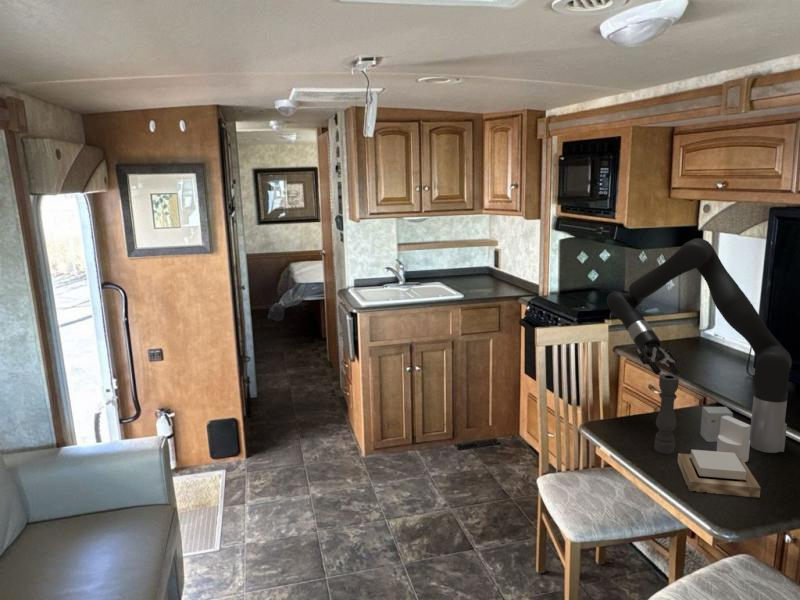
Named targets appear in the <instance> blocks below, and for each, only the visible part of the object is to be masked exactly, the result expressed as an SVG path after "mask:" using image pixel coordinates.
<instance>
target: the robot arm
mask: <svg viewBox="0 0 800 600" xmlns="http://www.w3.org/2000/svg"><path fill="white" fill-rule="evenodd" d="M695 269H696V270H697V272H699V274H700V275H701V276H702V277H703V279H704V281H705V282H706V285H707V287H708V291H709V293H710V296H711V298H712V301H713V303H714V306H715V307H716V308H717V310H718V312H719V314H721V316H722V317H723V319H724V320H725V321H726V322H727V324H728V325H729V326H730V327H731V328H732V329H733V330H734V331H736V332H737V333H738V334H739V335H741V337H742V338H743V339H745V340H746V342H747V343H748V344H749V346H750V347H751V349H752V350H753V352H754V354H755V356H756V362H755V364H754V365H755V366H754V367H755V368H754V379H753V397H752V399H753V400H752V410H751V420H750V425H751V428H750V438H749V440H750V447H751V448H752V449H753V450H756V451H758V452H759V451H760V452H763V453H768V454H770V453H771V454H776V453H784V452H785V445H786V444H785V443H786V437H787V436H786V435H787V428H788V427H787V426H788V424H787V423H786V422H785V421H786V414H787V403H788V396H789V390H788V389H789V388H788V387H789V378H790V371H791V368H792V365H793V359H792V356H791V354H790V353H789V351H788V350H787V349H786V348H785V347H784V346H783V345H782V343H781V342H779V340H778V339H777V338H776V337H775V336H774V335H773V334H772V332H771V331H770V330H769V329H768V327H767V325H766V324H765V322H764V319H763V318H762V317H761V316H760V314H759V313H758V311H757V310H756V308H755V307H754V304H753V303H752V302H751V301H750V299H749V298H748V297H747V295H746V294H745V293H744V292H743V290H742V289H741V287H739V286H740V285H738V283H737V282H736V281H735V279H734V278H733V276H731V274H730V273H729V272H728V271H727V269H726V267H725V266H724V264H723V262H722V261H721V259H720V257H719V256H718V253H717V252H716V250H715V248H714V246H713V245H712V244H711V243H710V242H709V241H708V240H706V239H705V238H704V239H703V238H693V239H691V240H689V241H687V242H685V243H684V244H683V245H681V246H680V248H679V249H678V250H676V252H675V253H673V255H671V257H669V258H668V259H666V261H664V262H663V263H661V264H660V265H658V266H656V267H655V268H654V269H652V270H650V271H649V272H647V273H645V274H643V275H642V276H641V277H639V278H637V279H635V281H633V282H632V283H630V285H629V286H628V290H629V291H628V292H627V293H625V292H622V291H618V290H614V291H612V292H610V293H609V294H608V295H607V297H606V304H607V307H608V309H609V310H610V311H611V312H612V314H613V315H614V316H616V318H617V319H618V320H619V321H620V322H621V323H622V324H623V326H624V328H625V329H626V330H627V332H628V335H629V337H630V338H631V340H632V341H633V343H634V345H635V346H636V347H637V349H636V350H635V353H636V354H637V356H638V358H639V360H640V361H641V363H642V364H643V365H645V366H646V365H647V366H648V367H650V369H651V370H652V372H653V373H654V374H655V375H660V373H662V369H661V368H660V366H659V365H658V364H657V362H656V361H658V362H660V363H661V364H665V365H666V366H667V367H668V369H669V370H670V371H671V373H672V375H675V376H677V375H678V374H680V369H679V368H678V366H677V365H676V363H677V362H678V361H679V360H678V359H677V357H676V355H674V353H673V352H672V350H671V349H670V348H669V347H666V348H665V349H664V348H662V346H661V340H660V338H659V337H658V335H657V334H656V333H655V331H654V329H653V328H652V326H651V325H650V324H649V323H648V322H647V321H646V319H645V317H644V316H643V315H642V314H641V312H640V311H639V310H638V309H636V308H637V307H638V306H639V305H640V304H642V302H643V301H644V299H647V298H648V297H649V296H651V295H652V294H654V293H656V292H657V291H658V290H660V289H662V288H663V287H665V286H666V285H667V284H668V283H669V282H670V281H673V279H675V278H677V277H679V276H681V275H683V274H685V273H687V272H690V271H693V270H695Z"/></svg>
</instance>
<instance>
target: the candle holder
mask: <svg viewBox="0 0 800 600" xmlns="http://www.w3.org/2000/svg"><path fill="white" fill-rule="evenodd" d="M679 380H680V377H679V376H677V375H674V374H669V373H668V374H667V373H665V374H661V375H660V374H659V382H658V386H659V389H660V391H661V392H660V393H659V395H658V396H659V398H660V408H659V410H658V414H657V416H656V419H655V425H656V427H657V428H658V429H657V430H658V431H657V433H656V434H655V437H654V446H653V450H655V451H656V452H657V453H659V454H663V455H664V454H665V455H670V454H674V453H675V451H676V450H675V449H676V440H675V437H676V436H675V435H674V434H673V432H674V430H675V429H676V427H677V418H676V414H675V409H674V406H675V401H676V399H677V398H678V395H676V392H677V391H678V389H679V382H680V381H679Z"/></svg>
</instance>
